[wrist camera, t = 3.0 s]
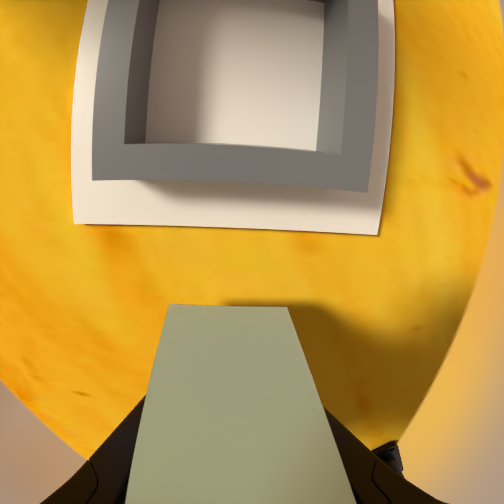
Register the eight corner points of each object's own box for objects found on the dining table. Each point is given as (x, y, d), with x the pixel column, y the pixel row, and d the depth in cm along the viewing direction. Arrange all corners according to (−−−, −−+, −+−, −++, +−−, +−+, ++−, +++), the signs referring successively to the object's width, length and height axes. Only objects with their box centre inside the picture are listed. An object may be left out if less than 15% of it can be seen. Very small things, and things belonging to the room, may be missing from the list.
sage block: (286, 307, 11) (366, 533, 3) (274, 388, 12) (313, 571, 5) (169, 303, 10) (119, 542, 3) (176, 387, 12) (160, 575, 4)
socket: (387, -27, 8) (419, -52, 6) (373, 231, 12) (408, 257, 10) (105, -48, 7) (83, -80, 4) (78, 221, 11) (43, 245, 8)
